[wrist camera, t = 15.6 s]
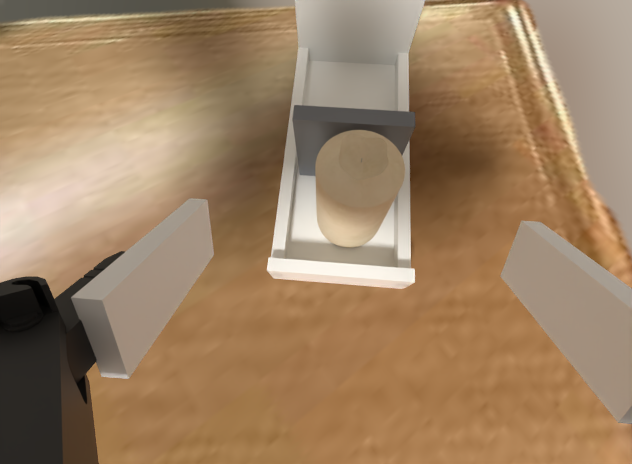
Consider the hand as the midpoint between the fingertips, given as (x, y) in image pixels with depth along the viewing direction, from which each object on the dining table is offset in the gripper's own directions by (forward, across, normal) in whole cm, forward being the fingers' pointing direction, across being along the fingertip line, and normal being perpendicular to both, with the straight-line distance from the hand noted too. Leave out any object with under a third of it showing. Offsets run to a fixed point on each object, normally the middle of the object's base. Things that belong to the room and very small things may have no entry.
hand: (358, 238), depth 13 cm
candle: (+13, 0, -5) cm, 14 cm away
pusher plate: (+16, 0, -2) cm, 16 cm away
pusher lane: (+18, 0, -1) cm, 18 cm away
